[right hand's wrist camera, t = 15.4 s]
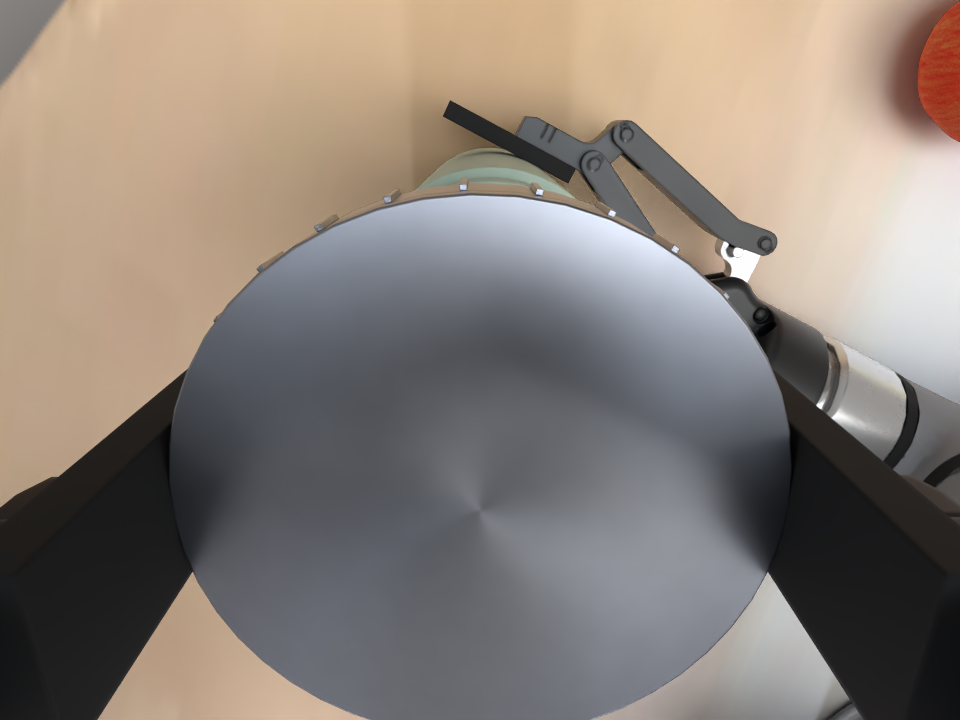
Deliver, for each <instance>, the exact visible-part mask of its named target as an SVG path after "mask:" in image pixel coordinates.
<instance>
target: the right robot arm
mask: <svg viewBox="0 0 960 720" xmlns="http://www.w3.org/2000/svg"><path fill="white" fill-rule="evenodd" d="M187 370H188V369H187ZM187 370H186V371H185V372H183V373H182V374H181V375H180V376H179V377H177V378H176V379H175V380H174V381H173V382H172V383H170V384H169V385H168V386H167V387H166V388H164V389H163V390H162V391H161V392H160V393H158V394H157V395H156V396H155V397H154V398H152V399H151V400H150V401H149V402H148V403H146V404H145V405H144V406H143V407H142V408H140V409H139V410H138V411H137V412H136V413H134V414H133V415H132V416H131V417H130V418H128V419H127V420H126V421H125V422H124V423H122V424H121V425H120V426H119V427H118V428H116V429H115V430H114V431H113V432H112V433H110V434H109V435H108V436H107V437H106V438H105V439H103V440H102V441H101V442H100V443H99V444H97V445H96V446H95V447H94V448H93V449H91V450H90V451H89V452H88V453H87V454H85V455H84V456H83V457H82V458H81V459H79V460H78V461H77V462H76V463H75V464H73V465H72V466H71V467H70V468H69V469H67V470H66V471H65V472H64V473H63V474H61V475H60V476H59V477H51V478H49V479H47V480H45V481H43V482H41V483H39V484H37V485H35V486H33V487H31V488H29V489H27V490H25V491H23V492H21V493H19V494H17V495H16V496H14V497H13V498H12V499H11V500H9V501H8V502H7V503H6V504H4V505H3V506H2V507H0V720H97V719H98V718H99V716H100V715H101V713H102V712H103V710H104V709H105V707H106V705H107V704H108V702H109V701H110V699H111V698H112V696H113V695H114V693H115V691H116V690H117V688H118V687H119V685H120V684H121V682H122V681H123V679H124V677H125V676H126V674H127V673H128V671H129V670H130V668H131V667H132V665H133V663H134V662H135V660H136V659H137V657H138V656H139V654H140V653H141V651H142V649H143V648H144V646H145V645H146V643H147V642H148V640H149V639H150V637H151V635H152V634H153V632H154V631H155V629H156V628H157V626H158V625H159V623H160V621H161V620H162V618H163V617H164V615H165V614H166V612H167V611H168V609H169V607H170V606H171V604H172V603H173V601H174V600H175V598H176V597H177V595H178V593H179V592H180V590H181V589H182V587H183V586H184V584H185V583H186V581H187V579H188V578H189V576H190V575H191V573H192V572H193V571H192V568H191V566H190V564H189V562H188V560H187V558H186V555H185V553H184V551H183V548H182V544H181V541H180V538H179V534H178V531H177V527H176V522H175V517H174V512H173V506H172V501H171V495H170V489H169V483H168V456H169V440H170V434H171V427H172V421H173V415H174V409H175V406H176V403H177V399H178V396H179V393H180V390H181V387H182V384H183V381H184V378H185V375H186V372H187ZM772 371H773V373H774V376H775V378H776V381H777V383H778V386H779V388H780V391H781V393H782V397H783V402H784V406H785V411H786V415H787V419H788V424H789V428H790V438H791V453H792V468H793V469H792V480H791V492H790V498H789V504H788V509H787V514H786V519H785V524H784V529H783V533H782V537H781V540H780V543H779V545H778V548H777V550H776V553H775V555H774V558H773V560H772V563H771V565H770V568H769V570H768V573H769V574H770V576H771V577H772V579H773V580H774V582H775V583H776V585H777V587H778V588H779V590H780V591H781V593H782V594H783V596H784V597H785V599H786V601H787V602H788V604H789V605H790V607H791V608H792V610H793V611H794V613H795V615H796V616H797V618H798V619H799V621H800V622H801V624H802V625H803V627H804V629H805V630H806V632H807V633H808V635H809V636H810V638H811V639H812V641H813V643H814V644H815V646H816V647H817V649H818V650H819V652H820V653H821V655H822V657H823V658H824V660H825V661H826V663H827V664H828V666H829V667H830V669H831V671H832V672H833V674H834V675H835V677H836V678H837V680H838V681H839V683H840V685H841V686H842V688H843V689H844V691H845V692H846V694H847V695H848V697H849V699H850V700H851V702H852V703H853V705H854V706H855V708H856V709H857V711H858V713H859V714H860V716H861V717H862V719H863V720H960V504H959V503H957V502H956V501H955V500H954V499H952V498H951V497H950V496H949V495H947V494H946V493H945V492H943V491H941V490H939V489H937V488H935V487H933V486H931V485H929V484H927V483H925V482H923V481H921V480H919V479H917V478H915V477H913V476H911V475H899V474H898V473H897V472H895V471H894V470H893V469H892V468H891V467H889V466H888V465H887V464H886V463H885V462H883V461H882V460H881V459H880V458H879V457H877V456H876V455H875V454H874V453H873V452H872V451H870V450H869V449H868V448H867V447H866V446H864V445H863V444H862V443H861V442H860V441H858V440H857V439H856V438H855V437H854V436H852V435H851V434H850V433H849V432H848V431H846V430H845V429H844V428H843V427H842V426H840V425H839V424H838V423H837V422H836V421H834V420H833V419H832V418H831V417H830V416H828V415H827V414H826V413H825V412H824V411H822V410H821V409H820V408H819V407H818V406H816V405H815V404H814V403H813V402H812V401H810V400H809V399H808V398H807V397H806V396H804V395H803V394H802V393H801V392H800V391H799V390H797V389H796V388H795V387H794V386H793V385H791V384H790V383H789V382H788V381H787V380H785V379H784V378H783V377H782V376H781V375H779V374H778V373H777V372H776V371H775V370H773V369H772Z"/></svg>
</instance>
